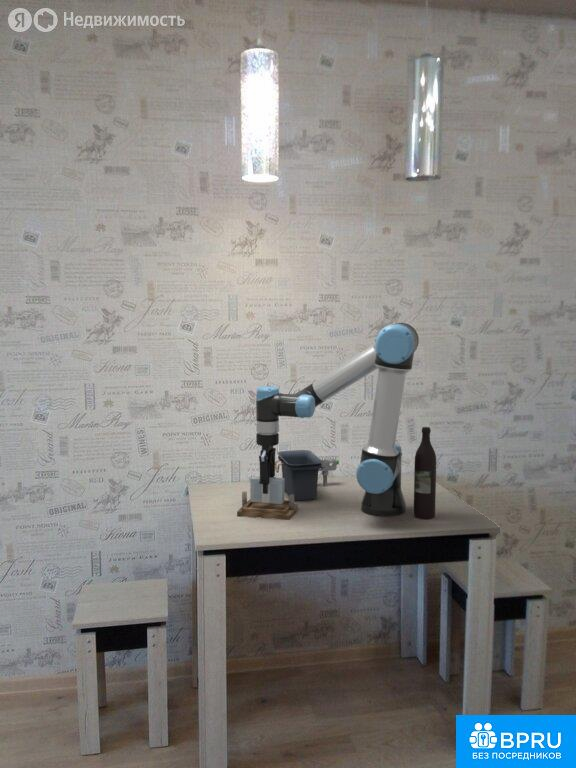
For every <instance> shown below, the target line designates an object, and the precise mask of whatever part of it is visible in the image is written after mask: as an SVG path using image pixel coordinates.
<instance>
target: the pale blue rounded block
mask: <svg viewBox="0 0 576 768" xmlns="http://www.w3.org/2000/svg"><path fill="white" fill-rule="evenodd" d="M259 482H260V476H255V475H254V476H252V477H251V478H250V485H249V486H250V497H249V500H250V502H260V503H263V502H262V484H259ZM269 483H270V503H273V504H283V502H284V500H285V492H286V491H285V478H282V477H276V478H272V477H269Z"/></svg>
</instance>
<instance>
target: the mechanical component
mask: <svg viewBox="0 0 576 768" xmlns="http://www.w3.org/2000/svg"><path fill="white" fill-rule="evenodd" d="M321 460H322V461H323V463H321V465H322V468H320V469H319V470H318V472H321V475H322V485H323V487H328V476H329V472H330V471H331V472H333V471H336V470H337V468H338V467H337V466H338V465H339V463H340V461H339V460H337V459H336V458H335V459H334V458H333V459H321Z"/></svg>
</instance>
